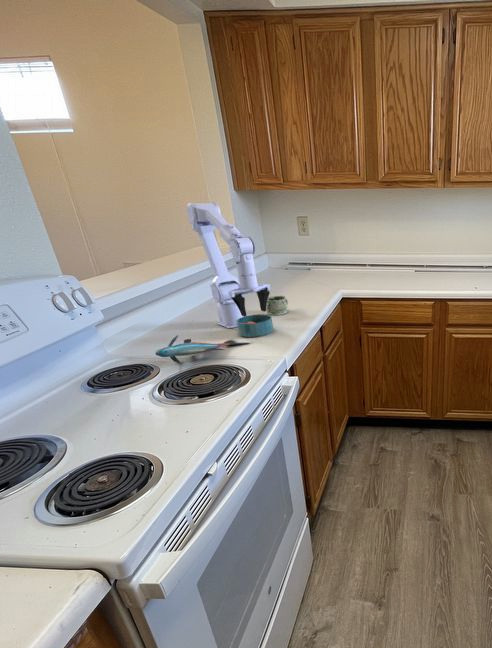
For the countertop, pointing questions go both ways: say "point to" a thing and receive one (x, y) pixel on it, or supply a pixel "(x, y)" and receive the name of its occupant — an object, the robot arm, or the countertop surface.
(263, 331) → the teal pet bowl
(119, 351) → the countertop surface
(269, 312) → the vessel
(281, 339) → the countertop surface
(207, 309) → the countertop surface
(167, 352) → the fish
